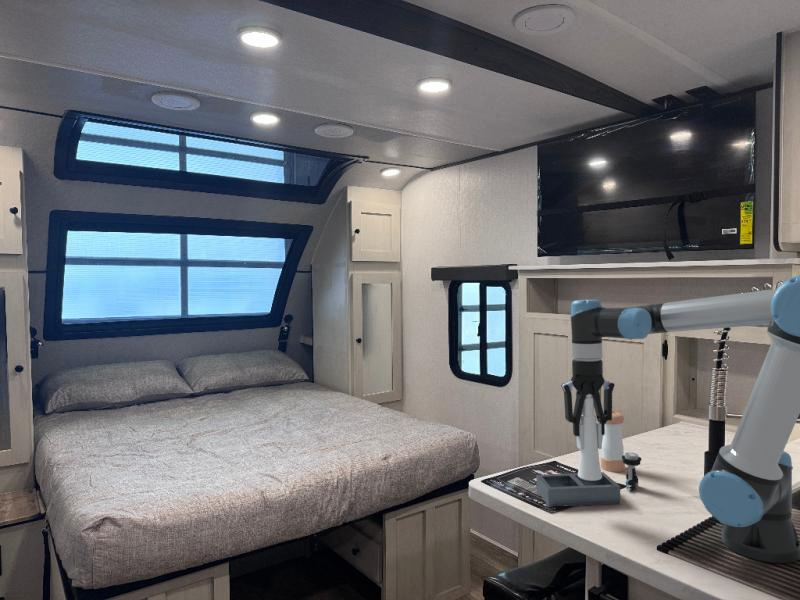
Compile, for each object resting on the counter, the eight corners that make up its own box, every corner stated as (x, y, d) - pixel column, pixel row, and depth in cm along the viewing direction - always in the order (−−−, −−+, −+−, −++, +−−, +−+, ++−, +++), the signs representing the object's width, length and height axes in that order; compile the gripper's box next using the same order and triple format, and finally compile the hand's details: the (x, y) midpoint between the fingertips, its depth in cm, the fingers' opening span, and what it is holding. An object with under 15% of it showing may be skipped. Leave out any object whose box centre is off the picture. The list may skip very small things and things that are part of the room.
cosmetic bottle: (597, 472, 145) (595, 390, 144) (605, 480, 139) (603, 395, 138) (574, 473, 145) (572, 391, 145) (582, 481, 139) (579, 396, 139)
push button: (637, 494, 155) (637, 459, 155) (618, 490, 159) (617, 456, 158) (643, 486, 161) (643, 453, 160) (625, 483, 164) (624, 450, 164)
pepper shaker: (621, 473, 172) (620, 413, 171) (597, 469, 176) (597, 410, 175) (627, 467, 177) (627, 409, 177) (604, 462, 182) (604, 406, 181)
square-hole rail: (603, 488, 160) (603, 472, 160) (620, 504, 149) (620, 486, 149) (536, 491, 159) (536, 474, 159) (548, 507, 148) (548, 489, 148)
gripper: (613, 355, 145) (615, 442, 146) (549, 358, 145) (552, 445, 145) (626, 359, 138) (628, 450, 139) (559, 362, 137) (561, 453, 138)
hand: (589, 447), depth 142 cm, fingers closed on cosmetic bottle, 4 cm apart
